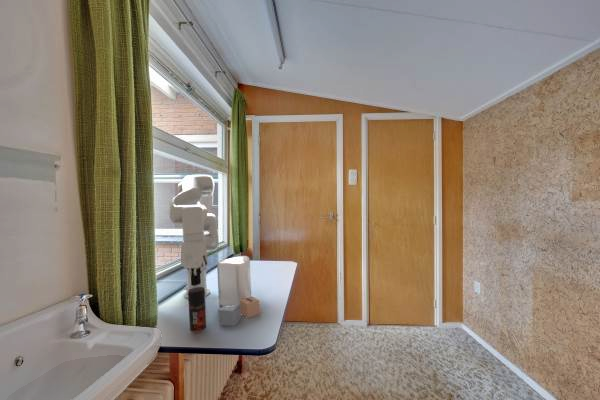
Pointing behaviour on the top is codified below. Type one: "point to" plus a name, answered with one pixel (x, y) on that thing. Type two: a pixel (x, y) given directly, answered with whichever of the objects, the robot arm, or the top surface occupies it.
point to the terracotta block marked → (249, 307)
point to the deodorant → (197, 309)
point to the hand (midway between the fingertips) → (196, 284)
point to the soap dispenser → (234, 280)
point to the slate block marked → (229, 314)
